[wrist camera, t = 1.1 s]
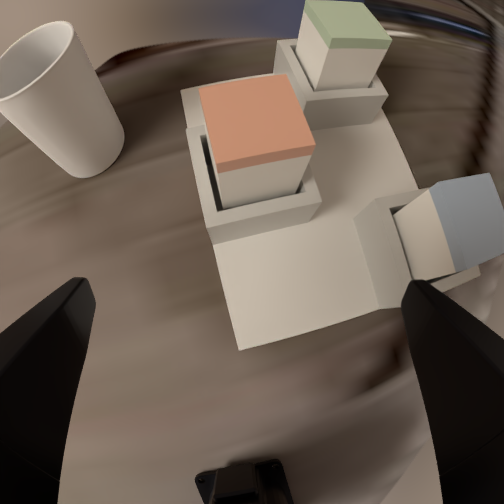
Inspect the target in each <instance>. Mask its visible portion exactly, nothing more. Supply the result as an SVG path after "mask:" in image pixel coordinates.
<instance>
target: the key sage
mask: <svg viewBox="0 0 504 504" xmlns="http://www.w3.org/2000/svg"><path fill="white" fill-rule="evenodd" d="M391 42H392V39H391V38H390V36H389V35H388V34H387V32H386V31H385V30H384V28H383V27H382V26H381V25H380V23H379V22H378V21H377V20H376V18H375V17H374V16H373V15H372V14H371V12H370V11H369V10H368V9H367V8H366V6H365V5H364V4H363V3H358V2H344V1H321V0H318V1H317V0H306V1H305V7H304V12H303V17H302V22H301V26H300V31H299V36H298V41H297V46H296V51H295V56H296V58H297V60H298V62H299V64H300V66H301V68H302V70H303V72H304V74H305V76H306V78H307V80H308V82H309V84H310V86H311V88H312V90H313V92H316V91H327V90H340V89H357V88H368V86H369V85H370V83H371V81H372V79H373V77H374V75H375V73H376V71H377V69H378V67H379V65H380V63H381V61H382V59H383V57H384V56H385V54H386V52H387V50H388V48H389V46H390V44H391Z"/></svg>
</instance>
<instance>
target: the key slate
mask: <svg viewBox="0 0 504 504" xmlns="http://www.w3.org/2000/svg"><path fill="white" fill-rule="evenodd" d="M392 218H393V220H394V223H395V226H396V229H397V232H398V236H399V239H400V242H401V245H402V248H403V251H404V255H405V258H406V262H407V265H408V268H409V272H410V276H411V279H412V280H413V279H423V280H429V279H433V278H437V277H441V276H445V275H448V274H452V273H456V272H460V271H463V270H467V269H470V268H472V267H474V266H477V265H479V264H481V263H483V262H486V261H488V260H490V259H492V258H495V257H497V256H499V255H501V254H503V253H504V209H503V207H502V204H501V201H500V198H499V195H498V193H497V190H496V188H495V185H494V183H493V180H492V178H491V175H490V173H485V174H479V175H473V176H468V177H462V178H457V179H451V180H446V181H440V182H437V183H436V184H435V185H433V186H432V187H431V188H429V189H428V190H427V191H425V192H424V193H423V194H421V195H420V196H418V197H417V198H416V199H414V200H413V201H412V202H410V203H409V204H408V205H406V206H405V207H403V208H402V209H401V210H399V211H398V212H397V213H395V214H394V215H392Z"/></svg>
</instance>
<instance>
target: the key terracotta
mask: <svg viewBox="0 0 504 504" xmlns="http://www.w3.org/2000/svg"><path fill="white" fill-rule="evenodd" d="M198 89H199V95H200V101H201V107H202V113H203V119H204V125H205V131H206V137H207V142H208V148H209V152H210V157H211V161H212V165H213V169H214V173H215V178H216V182H217V186H218V190H219V194H220V199H221V203H222V207H223V210H227V209H231V208H235V207H239V206H244V205H248V204H252V203H257V202H261V201H266V200H270V199H275V198H280V197H284V196H289V195H294V194H295V193H296V190H297V188H298V186H299V183H300V181H301V179H302V176H303V174H304V172H305V169H306V167H307V165H308V162H309V160H310V158H311V155H312V153H313V151H314V148H315V146H316V143H315V141H314V138H313V136H312V133H311V131H310V128H309V126H308V123H307V121H306V118H305V116H304V114H303V111H302V109H301V106H300V104H299V102H298V99H297V97H296V95H295V93H294V90H293V88H292V86H291V84H290V81H289V79H288V77H287V75H286V74H281V75H273V76H265V77H258V78H251V79H245V80H238V81H233V82H227V83H222V84H216V85H211V86H207V87H202V88H198Z"/></svg>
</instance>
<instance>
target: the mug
mask: <svg viewBox="0 0 504 504" xmlns="http://www.w3.org/2000/svg"><path fill="white" fill-rule="evenodd" d="M0 112H1V113H2V114H3V115H4V116H5V117H6V118H7V119H8V120H9V121H10V122H11V123H12V124H13V125H15V126H16V127H17V128H18V129H19V130H20V131H21V132H22V133H23V134H24V135H25V136H27V137H28V138H29V139H30V140H31V141H32V142H33V143H34V144H35V145H37V146H38V147H39V148H40V149H41V150H42V151H43V152H44V153H45V154H47V155H48V156H49V157H50V158H51V159H52V160H53V161H54V162H56V163H57V164H58V165H59V166H60V167H62V168H63V169H64V170H65V171H66V172H68V173H69V174H70V175H72V176H74V177H78V178H88V177H92V176H95V175H97V174H99V173H101V172H103V171H104V170H106V169H107V168H108V167H109V166H110V165H111V164H112V163H113V162H114V161H115V160H116V159H117V157H118V156H119V154H120V152H121V150H122V147H123V144H124V130H123V127H122V125H121V123H120V121H119V119H118V117H117V115H116V113H115V111H114V109H113V107H112V105H111V103H110V101H109V99H108V97H107V95H106V93H105V91H104V89H103V87H102V85H101V83H100V81H99V79H98V77H97V75H96V73H95V70H94V69H93V67H92V64H91V62H90V60H89V58H88V56H87V54H86V51H85V49H84V47H83V45H82V43H81V41H80V39H79V37H78V36H77V34H76V32H75V30H74V27H73V25H72V24H71V23H69V22H67V21H54V22H50V23H47V24H45V25H42V26H40V27H37V28H36V29H34V30H32V31H30V32H29V33H27V34H25V35H24V36H23V37H21V38H20V39H19V40H17V41H16V42H15V43H14V44H13V45H12V46H10V48H8V49H7V50H6V51H5V53H4V54H3V55H2V56H1V57H0Z"/></svg>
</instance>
